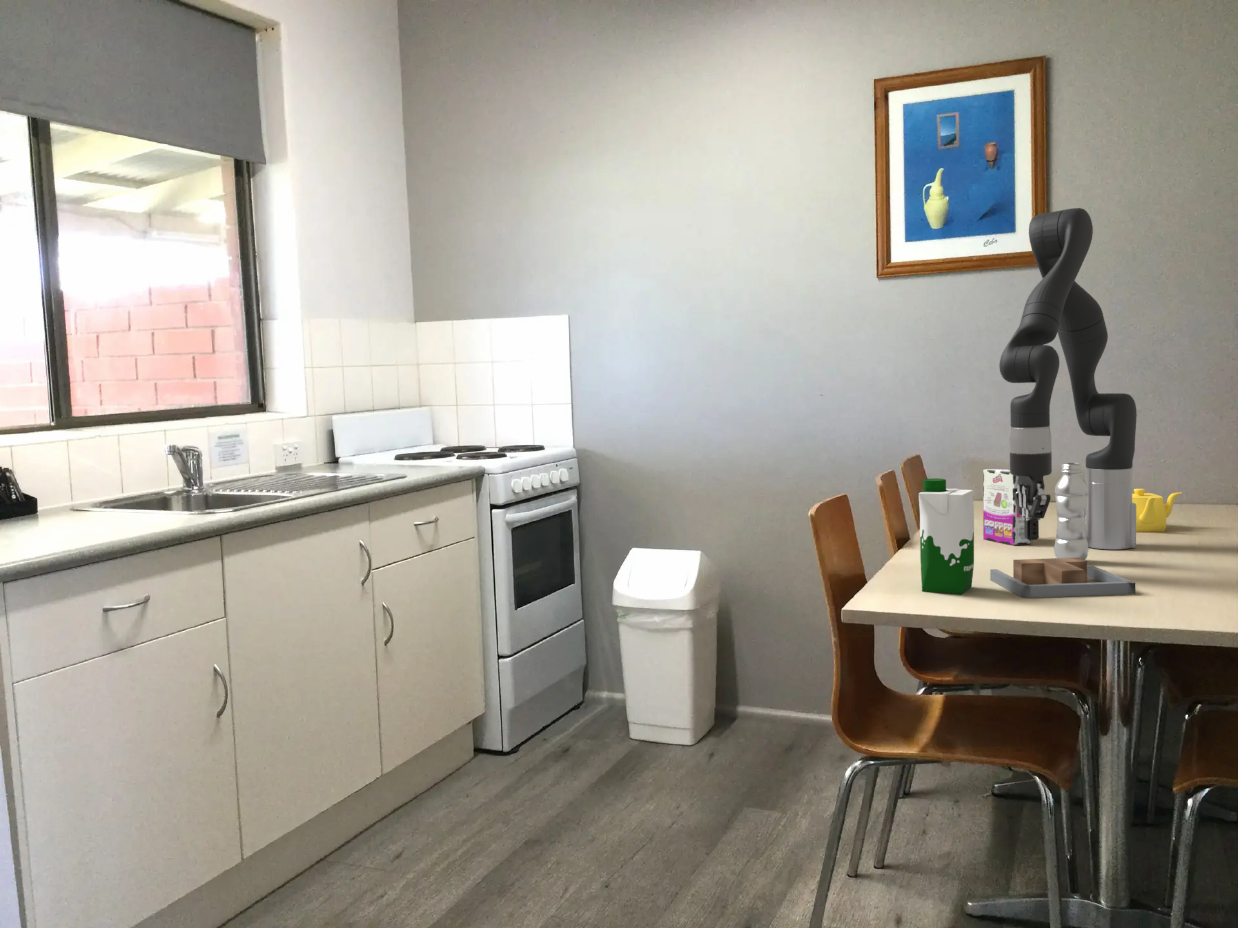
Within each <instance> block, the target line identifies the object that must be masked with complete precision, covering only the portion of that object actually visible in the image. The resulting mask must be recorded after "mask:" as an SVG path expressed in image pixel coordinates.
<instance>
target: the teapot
mask: <svg viewBox="0 0 1238 928" xmlns="http://www.w3.org/2000/svg"><path fill="white" fill-rule="evenodd" d="M1133 492H1134V493H1133ZM1133 492H1132V503H1135V504H1136V533H1165V531H1166V528H1167V519H1168V517H1169V516H1170V515H1171V513H1172V510H1173V505H1174V501H1175V500H1176V498H1177V497H1178V496H1179V495H1182V493H1183V492H1182V491H1181V492H1173V493H1170V495H1169V496H1168V497H1167V499H1166V503H1165V501H1164V498H1163V497H1162V496H1161V495H1158V494H1156V493H1152V492H1149V493H1148V492H1146V489H1144V488H1134V489H1133Z"/></svg>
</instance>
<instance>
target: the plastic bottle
mask: <svg viewBox="0 0 1238 928" xmlns="http://www.w3.org/2000/svg"><path fill="white" fill-rule="evenodd" d="M1060 471H1061V473H1062V475H1061V477H1060V478H1059V480H1058V481H1057V482H1056V484H1055V487H1054V498H1055V505H1056V515H1057V517H1056V521H1057V523H1056V534H1055V535H1056V536H1055V537H1056V538H1055V540H1054V547H1053V551H1054V552H1053V553H1054V556H1055V558H1080V559H1082V560H1085V561H1086V559H1088V556H1089V555H1088V554H1089V549H1090V548H1089V547H1088V542H1087V539H1086V527H1085V516H1086V505H1087V498H1088V487H1087V484H1086V480H1084V479H1083V477H1082V476H1081V473H1083V472H1082V464H1081V463H1079V462H1063V463H1061V470H1060Z"/></svg>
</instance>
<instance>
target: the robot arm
mask: <svg viewBox="0 0 1238 928" xmlns="http://www.w3.org/2000/svg"><path fill="white" fill-rule="evenodd" d="M1092 221H1093V220H1092V218H1091V215H1090V214H1089V213H1088V211H1087V210H1086V209H1085V208H1082V207H1075V208H1067V209H1062V210H1061V209H1060V210H1056V211H1051V212H1050V211H1049V212H1045V213H1040V214H1037V215H1035V216H1033V217H1032V218H1031V220H1030V222H1029V225H1028V237H1029V239H1028V240H1029V242H1030V243H1029V244H1030V247H1031V251H1032V253H1033V257H1034V259H1035V262H1036V266H1037V268H1038V270H1039V273H1040V276H1041V278H1042V279H1041V280H1040V281H1039V282H1038V283H1037V285H1036V286H1035V287H1034V288H1033V289H1032V291H1031V292H1030V293H1029V295H1028V297H1027V299H1026V301H1025V305H1024V306H1023V307H1024V308H1023V312H1022V315H1021V318H1020V324H1019V325H1018V328H1017V329H1016V330H1015V332H1014V334H1013V335H1012V337H1011V338H1010V340H1009V342H1008V343H1007V345H1006V346H1005V347H1004V349H1003V351H1002V354H1001V356H1000V359H999V372H1000V375H1001V377H1002V379H1003V380H1005V381H1006V382H1008V383H1010V384H1011V383H1012V384H1027V383H1029V384H1031V383H1032V384H1033V383H1034V385H1035V386H1034V388H1033V390H1032V391H1031V392H1030V393H1027V394H1023V395H1022V394H1021V395H1018V396H1016V397H1013V398H1012V399H1011V401H1010V407H1009V409H1010V432H1009V433H1010V434H1009V470H1010V473H1011V474H1012V475H1014V476H1019V477H1018V485H1017V488H1013V495H1014V498H1015V502H1016V505H1017V509H1018V512H1019V515H1022V518H1023V520H1024V536H1025V538H1026V539H1028V540H1031V541H1037V540H1039V537H1040V536H1039V535H1040V534H1039V532H1040V531H1039V530H1040V527H1039V525H1040V523H1039V521H1041V519H1045V516H1046V513H1047V510H1048V509H1049V505H1050V502H1051V500H1052V499H1051V495H1050V494H1046V487H1045V481H1044V480H1045V479H1044V477H1045V476H1050V475H1051V474H1052V472H1053V465H1052V463H1053V461H1052V460H1053V458H1052V457H1053V455H1052V433H1051V427H1050V426H1051V425H1050V421H1051V419H1050V417H1051V415H1050V413H1051V412H1050V411H1051V410H1050V409H1051V407H1050V405H1051V399H1052V395H1053V390H1054V387H1055V384H1056V380H1057V376H1058V373H1059V369H1060V355H1059V354H1058V352H1057V350H1056V349H1055V348H1054V347H1053V346H1051V345H1048V344H1050V343H1052V342H1053V341H1054V340H1055V339H1056V338H1057V335H1058V339H1059V343H1060V345H1061V349H1062V352H1063V355H1064V359H1065V363H1066V366H1067V370H1068V375H1069V378H1070V379H1069V381H1070V385H1071V391H1072V397H1073V404H1074V408H1075V409H1074V410H1075V414H1076V420H1077V424H1078V426H1079V428H1080V430H1081V432H1082V433H1084V434H1085V435H1087V436H1093V437H1109V443H1108V444H1107V445H1106V446H1105V447H1103V448H1102V449H1100V450H1098V451H1094V452H1091V453H1088V454H1087V455H1086V457H1085V483H1086V484H1087V487H1088V498H1087V505H1086V516H1085V527H1086V539H1087V542H1088V548H1092V549H1101V550H1126V549H1130V548H1132V549H1133V548H1137V532H1136V504H1135V503H1132V493H1133V468H1134V467H1133V462H1134V456H1135V450H1136V448H1135V447H1136V430H1137V416H1138V415H1137V413H1138V412H1137V406H1136V405H1137V404H1136V402H1135V400H1134V397H1133V396H1132V395H1131V394H1129V393H1121V392H1120V393H1118V392H1117V393H1112V392H1111V393H1109V392H1108V393H1102V392H1101V393H1099V392H1098V390H1097V386H1096V379H1095V373H1096V370H1097V367H1098V366H1099V365H1098V364H1099V363H1100V360H1101V358H1102V356H1103V354H1104V351H1105V349H1106V347H1107V344H1108V339H1109V335H1108V330H1107V329H1108V328H1107V325H1106V321H1105V317H1104V313H1103V309H1102V308H1101V306H1100V303H1099V302H1098V301H1097V300H1096V299H1095V298H1094V297H1093V296H1092V295H1091V294H1090V293H1089V292H1087V290H1085V288H1084V287H1082V286H1081V285H1080V284H1079V283H1078V282H1077V281H1076V278H1077V276H1078V274H1079V272H1080V270H1081V268H1082V266H1083V264H1084V261H1085V258H1086V257H1087V255H1088V253H1089V250H1090V248H1091V244H1092V240H1093V234H1094V233H1093V232H1094V227H1093V222H1092Z"/></svg>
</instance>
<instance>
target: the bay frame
mask: <svg viewBox="0 0 1238 928" xmlns="http://www.w3.org/2000/svg"><path fill="white" fill-rule="evenodd" d="M989 572H990V573H989V574H990V575H989V580H990V581H991V582H994V583H995V584H997V585H999V586H1001V587H1003V589H1006V590H1008V591H1009V592H1012V593H1014V594H1016V595H1018V596H1019V597H1021V598H1022V599H1027V598H1029V599H1030V598H1031V599H1032V598H1058V597H1059V598H1061V597H1085V596H1086V597H1088V596H1090V597H1091V596H1115V595H1116V596H1120V595H1121V596H1122V595H1136V582H1135V581H1132V580H1131V579H1126V578H1125V577H1122V576H1119V575H1117V574H1115V573H1112V572H1110V571H1107V570H1105V569H1102V568H1100V567H1097V566H1095V565H1087V578H1089V579H1092V580H1094V581H1096V582H1087V583H1069V584H1037V585H1027V584H1025V583H1023V582H1021V581H1019V580H1017V579H1015V578H1013V576H1011V575H1009V574H1008V573H1005V572H1003V571H1001V570H999V569H996V568H993V569H991V568H990V570H989Z"/></svg>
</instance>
